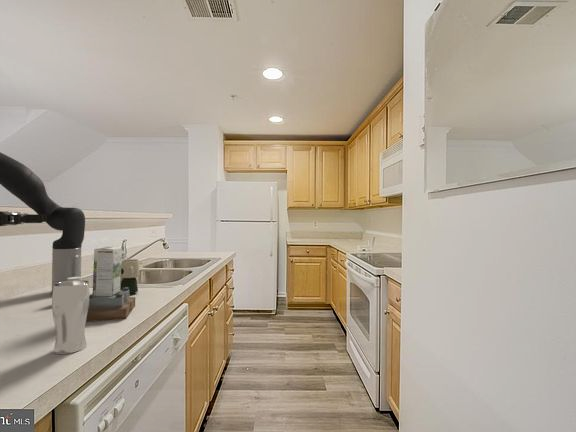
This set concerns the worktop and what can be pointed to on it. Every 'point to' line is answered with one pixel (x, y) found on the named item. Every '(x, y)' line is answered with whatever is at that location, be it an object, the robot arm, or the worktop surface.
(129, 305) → the tower base
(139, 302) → the worktop surface
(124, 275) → the character mug
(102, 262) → the syrup box
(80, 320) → the beer glass
